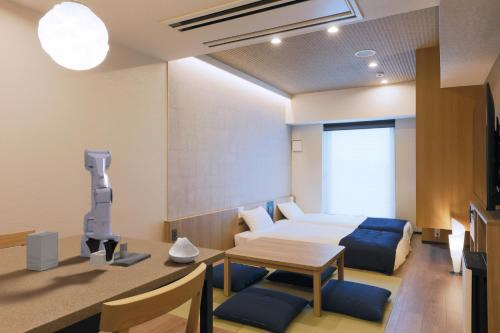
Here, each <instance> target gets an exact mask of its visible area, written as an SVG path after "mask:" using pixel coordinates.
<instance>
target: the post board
mask: <svg viewBox="0 0 500 333" xmlns="http://www.w3.org/2000/svg"><path fill="white" fill-rule="evenodd" d="M151 257H152V254H150V253H140V252H132V251H131V252H130V251H129V252H128V242H119V250H118V251H117V252H116V251H114V263H111V264H110V265H115V266H122V267H123V266H124V267H131V266H133V265H135V264H138V263H140V262H142V261H145V260H147V259H149V258H151Z"/></svg>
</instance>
